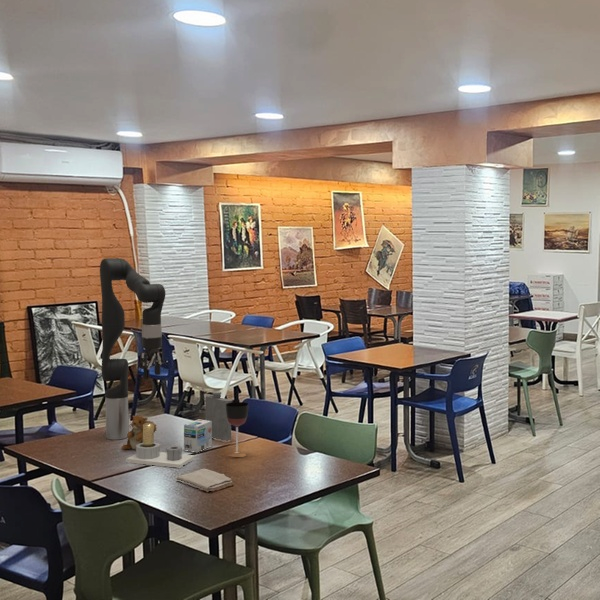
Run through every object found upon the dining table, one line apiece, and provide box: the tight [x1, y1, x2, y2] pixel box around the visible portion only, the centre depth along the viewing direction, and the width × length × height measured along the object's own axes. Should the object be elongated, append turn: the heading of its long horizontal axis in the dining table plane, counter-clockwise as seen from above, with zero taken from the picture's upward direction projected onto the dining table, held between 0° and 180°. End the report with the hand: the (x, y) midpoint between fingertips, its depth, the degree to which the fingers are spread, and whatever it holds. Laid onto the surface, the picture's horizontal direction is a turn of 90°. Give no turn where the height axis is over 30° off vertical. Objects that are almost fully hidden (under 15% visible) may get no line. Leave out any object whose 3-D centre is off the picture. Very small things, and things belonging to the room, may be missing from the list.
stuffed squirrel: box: [120, 415, 158, 451], centre depth 276 cm, size 10×14×13 cm
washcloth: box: [176, 468, 234, 490], centre depth 234 cm, size 12×18×3 cm, turn 48°
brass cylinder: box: [143, 422, 155, 447], centre depth 260 cm, size 4×4×12 cm
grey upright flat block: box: [205, 391, 232, 441], centre depth 289 cm, size 16×4×20 cm, turn 43°
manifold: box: [126, 441, 196, 467], centre depth 258 cm, size 22×12×6 cm, turn 72°
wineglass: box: [226, 401, 249, 453], centre depth 266 cm, size 8×9×20 cm
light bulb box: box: [183, 418, 213, 453], centre depth 274 cm, size 11×7×11 cm, turn 154°
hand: (152, 376), depth 268 cm, fingers open, 8 cm apart
